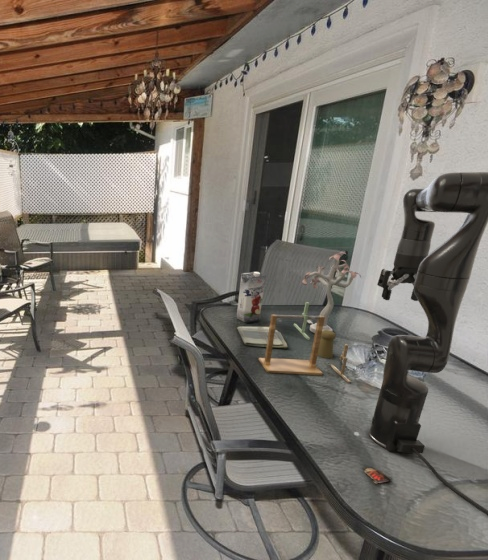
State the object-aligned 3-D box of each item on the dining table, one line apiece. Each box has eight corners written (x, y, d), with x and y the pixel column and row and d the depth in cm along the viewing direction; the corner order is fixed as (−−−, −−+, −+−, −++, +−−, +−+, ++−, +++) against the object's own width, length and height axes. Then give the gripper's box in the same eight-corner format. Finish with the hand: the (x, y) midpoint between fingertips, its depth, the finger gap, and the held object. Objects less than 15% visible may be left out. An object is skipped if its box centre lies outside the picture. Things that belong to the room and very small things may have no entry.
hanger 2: (350, 383, 130) (357, 352, 127) (347, 383, 131) (354, 352, 127) (332, 366, 142) (338, 337, 138) (330, 366, 142) (336, 337, 138)
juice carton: (233, 318, 190) (239, 270, 182) (249, 315, 193) (255, 268, 185) (245, 324, 182) (252, 274, 174) (262, 321, 185) (269, 272, 177)
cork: (335, 358, 147) (340, 335, 144) (319, 357, 149) (324, 334, 145) (328, 351, 153) (333, 328, 150) (313, 350, 154) (317, 327, 151)
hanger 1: (310, 340, 132) (316, 309, 128) (307, 339, 132) (313, 309, 128) (295, 325, 143) (301, 296, 139) (293, 325, 143) (298, 296, 139)
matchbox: (392, 479, 90) (392, 478, 90) (380, 486, 88) (380, 485, 88) (371, 466, 94) (371, 465, 94) (359, 473, 92) (359, 471, 92)
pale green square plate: (244, 346, 160) (244, 339, 159) (236, 329, 176) (237, 323, 176) (289, 349, 156) (290, 343, 155) (277, 332, 172) (278, 326, 171)
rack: (322, 375, 136) (333, 321, 129) (267, 372, 139) (275, 320, 132) (309, 362, 145) (319, 311, 139) (258, 359, 148) (265, 310, 142)
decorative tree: (280, 318, 188) (291, 245, 177) (326, 319, 186) (341, 244, 174) (307, 342, 162) (323, 258, 150) (362, 343, 160) (382, 257, 148)
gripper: (395, 255, 110) (384, 303, 115) (447, 255, 108) (433, 304, 113) (379, 250, 117) (369, 295, 122) (427, 250, 115) (415, 296, 120)
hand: (399, 299), depth 117 cm, fingers open, 8 cm apart
